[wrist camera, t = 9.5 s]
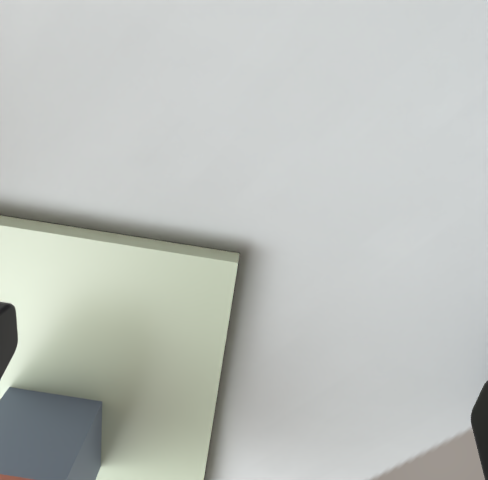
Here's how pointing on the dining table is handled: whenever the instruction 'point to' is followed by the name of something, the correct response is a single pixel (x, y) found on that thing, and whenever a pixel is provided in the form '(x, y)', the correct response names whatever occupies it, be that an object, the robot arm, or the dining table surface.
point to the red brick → (12, 477)
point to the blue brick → (49, 436)
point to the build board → (122, 337)
